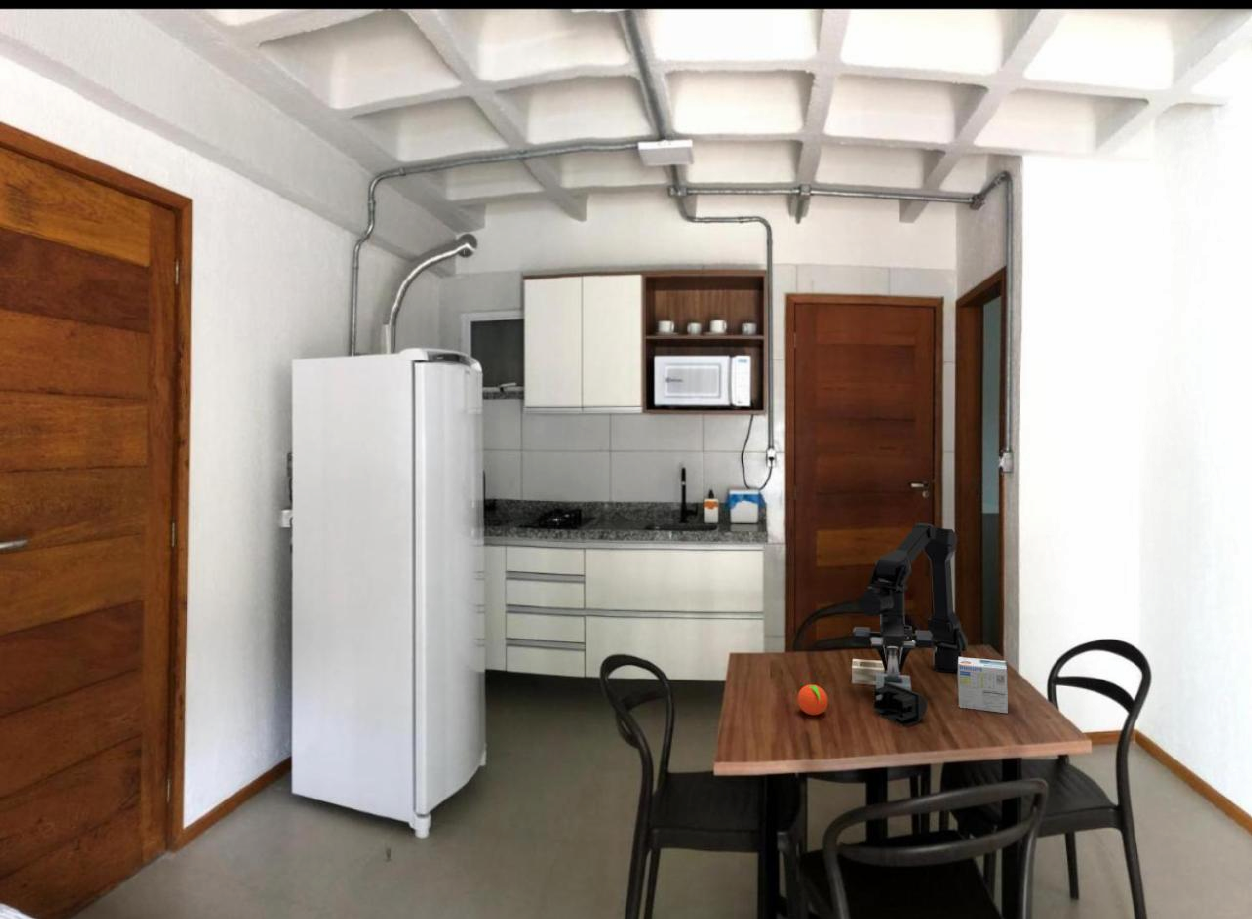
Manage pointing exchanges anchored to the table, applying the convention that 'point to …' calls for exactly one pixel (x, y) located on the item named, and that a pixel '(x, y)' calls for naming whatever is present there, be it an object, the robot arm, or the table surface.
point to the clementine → (812, 699)
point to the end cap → (899, 704)
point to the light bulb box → (982, 684)
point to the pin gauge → (893, 664)
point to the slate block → (883, 678)
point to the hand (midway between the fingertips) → (893, 671)
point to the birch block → (866, 671)
